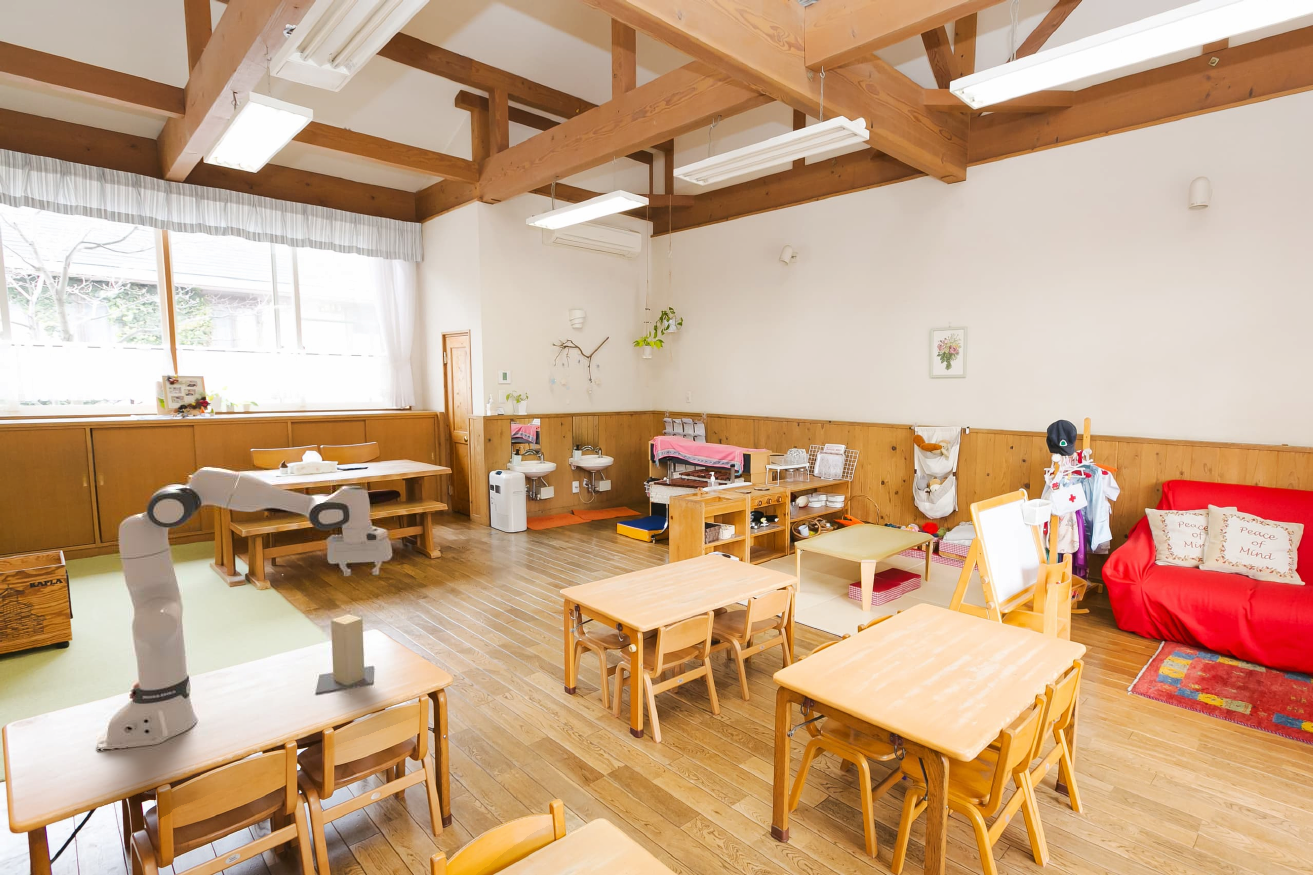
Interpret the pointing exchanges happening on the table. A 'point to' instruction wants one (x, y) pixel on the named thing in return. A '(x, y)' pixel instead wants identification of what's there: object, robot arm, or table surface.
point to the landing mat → (329, 685)
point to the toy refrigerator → (347, 649)
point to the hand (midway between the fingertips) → (361, 574)
